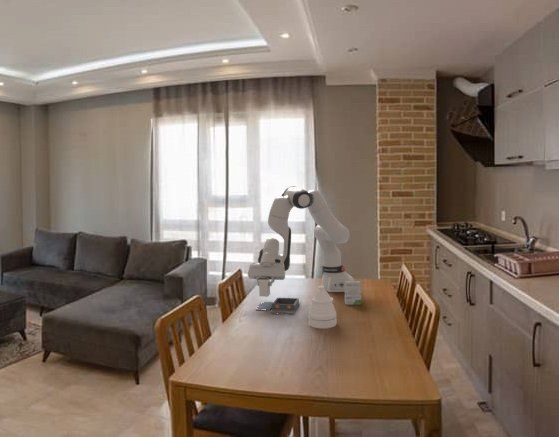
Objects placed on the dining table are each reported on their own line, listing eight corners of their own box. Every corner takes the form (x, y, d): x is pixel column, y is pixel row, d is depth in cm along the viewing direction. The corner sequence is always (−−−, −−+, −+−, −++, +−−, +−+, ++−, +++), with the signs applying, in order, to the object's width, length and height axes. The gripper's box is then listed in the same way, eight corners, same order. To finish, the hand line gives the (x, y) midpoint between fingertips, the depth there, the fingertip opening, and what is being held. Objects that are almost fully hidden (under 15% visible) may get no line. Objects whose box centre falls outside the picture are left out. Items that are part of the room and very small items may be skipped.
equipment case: (299, 304, 226) (298, 298, 225) (292, 314, 210) (292, 307, 209) (277, 304, 228) (277, 297, 228) (269, 313, 212) (269, 307, 212)
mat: (275, 303, 229) (275, 302, 229) (270, 310, 217) (270, 309, 217) (261, 303, 231) (261, 301, 231) (255, 310, 219) (255, 308, 219)
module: (270, 294, 225) (269, 275, 224) (267, 296, 220) (267, 277, 220) (261, 293, 226) (261, 275, 225) (259, 296, 222) (258, 277, 221)
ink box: (345, 304, 223) (344, 282, 222) (344, 301, 228) (344, 280, 227) (361, 304, 222) (361, 282, 221) (360, 301, 227) (360, 280, 226)
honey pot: (335, 329, 189) (334, 289, 187) (307, 327, 191) (305, 288, 189) (337, 319, 201) (336, 282, 199) (310, 318, 204) (309, 281, 202)
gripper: (248, 259, 231) (243, 281, 222) (285, 260, 226) (281, 283, 218) (251, 266, 235) (246, 287, 227) (287, 267, 231) (283, 289, 222)
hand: (264, 285), depth 222 cm, fingers closed on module, 5 cm apart
